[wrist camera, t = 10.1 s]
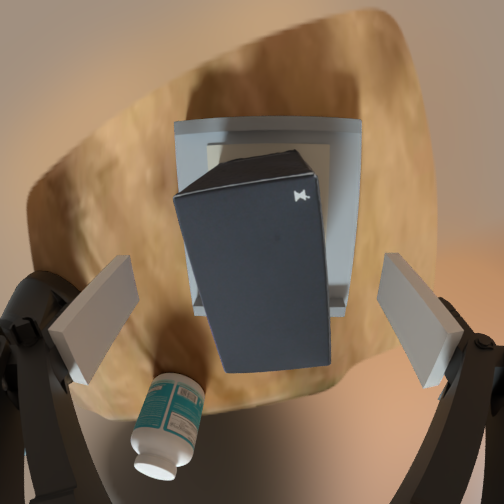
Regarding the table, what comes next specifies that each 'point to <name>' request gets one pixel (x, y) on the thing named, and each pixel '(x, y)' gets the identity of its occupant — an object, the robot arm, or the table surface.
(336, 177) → the dock
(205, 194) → the small box
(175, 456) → the pill bottle
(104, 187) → the table surface
